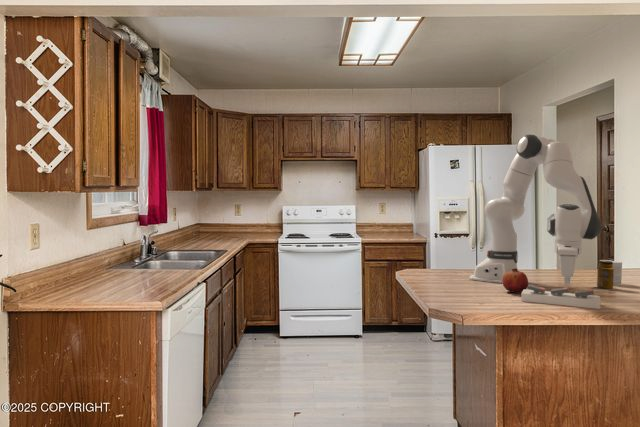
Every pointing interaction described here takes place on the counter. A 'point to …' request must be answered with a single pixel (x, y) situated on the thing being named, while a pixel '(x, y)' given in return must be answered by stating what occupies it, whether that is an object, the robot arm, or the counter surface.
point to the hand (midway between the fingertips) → (567, 285)
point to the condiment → (605, 276)
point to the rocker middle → (560, 290)
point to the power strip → (561, 299)
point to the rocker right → (584, 292)
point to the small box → (616, 272)
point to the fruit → (515, 281)
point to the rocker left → (536, 288)
